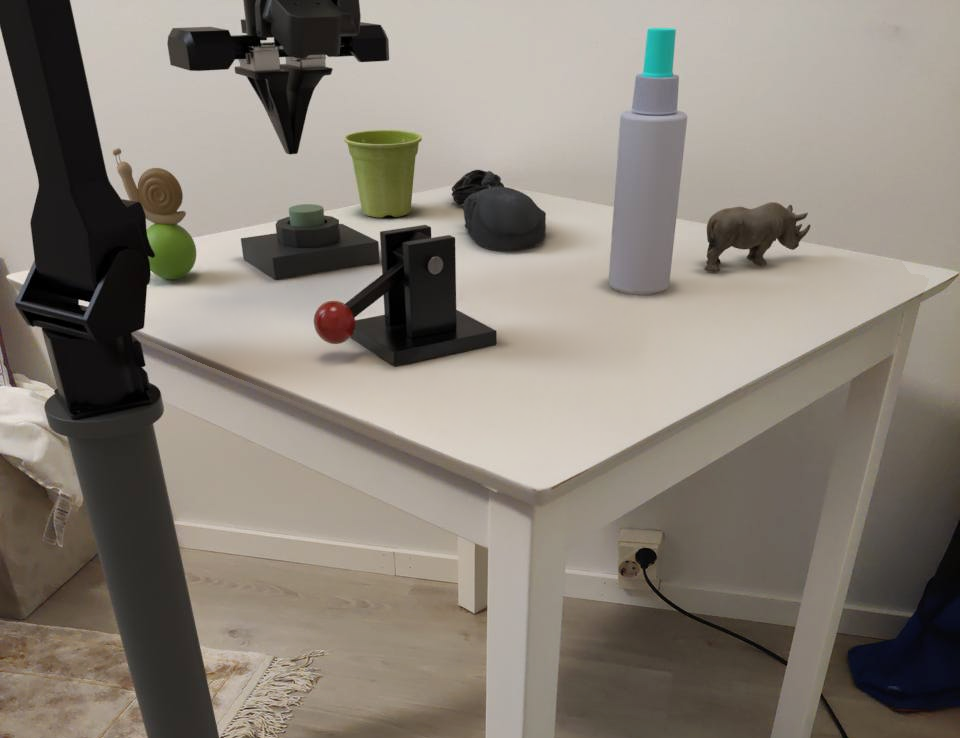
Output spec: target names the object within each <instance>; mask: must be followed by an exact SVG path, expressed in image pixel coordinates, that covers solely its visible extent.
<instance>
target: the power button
mask: <svg viewBox="0 0 960 738" xmlns="http://www.w3.org/2000/svg"><path fill="white" fill-rule="evenodd" d="M324 210H325V209H324V206H322V205H320V204H313V203H312V204H311V203H306V204H304V203H303V204H296V205H293V206H292V205H291V206H290V207H288V215H289V216H288V217H290V225H291V226H296V227H313V226H320V225H323V224H325V220H324V215H325V211H324Z"/></svg>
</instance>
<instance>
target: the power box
mask: <svg viewBox="0 0 960 738" xmlns="http://www.w3.org/2000/svg"><path fill="white" fill-rule="evenodd" d="M324 220H325V224H323V225H320V226H313V227H296V226H291V225H290V216H286V217H284V218H280V219H278V220H276V222H275V232H274V233H269V234H262V235H261V234H260V235H254V236H253V235H252V236H247V237H241V238H240V244H241V251H242V258H243V260H244V261H245V262H247V263H248V264H250V265H252V266H253V267H255V268H256V269H257V270H259V271H261V272H262V273H264V274H265V275H267V276H268V277H271V279H273V280H275V281H276V280H282V279H289V278H295V277H301V276H306V275H312V274H319V273H325V272H330V271H331V272H332V271H337V270H343V269H350V268H355V267H362V266H368V265H375V264H378V263H380V262H381V261H380V246H379V245H380V244H379V241H378V240H377V239H375V238H372V237H370V236H368V235H366V234H364V233H362V232H361V231H359V230H356V229H354V228H353V227H350V226H347V225H346V224H343V223H340V219H338V218H336V217H334V216H331V215H325V214H324Z"/></svg>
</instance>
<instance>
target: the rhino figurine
mask: <svg viewBox="0 0 960 738" xmlns="http://www.w3.org/2000/svg"><path fill="white" fill-rule="evenodd" d="M793 210H794V209H793V205H792V204H789V205H788V206H787V207H785V206H784V205H783V204H781V203H779V202H774V201H771V202H767V203H764V204H762V205H759V206H757V207H753V208H748V207H744V206H734V207H729V208H723V209H720V210H717V211H716V212H715V213H714V214H712V215H711V216H710V217H709V219H708V222H707V224H706V237H707V238H706V239H707V243H708V247H707V250H706V258H707V260H706V262H705V263H706V265H705V266H704V268H703V269H704V271H706V272H710V273H717V272H720V271H721V267H720V265H721V264H722V262H721V259H720V257H721V255H722V254H723V253H724V252H725V251H726V250H728V249H730V248H731V247H732V248H735V249H738V250H748V254H747V255H746V260H748V261H752V264H753V265H755V266H757V267H761V268H762V267H765V266H767V265H768V263H767V260H766V259H765V258H764V255H765V253H766V252H767V251H768V250H769V249H770V248H771V247H772V245H773V243H774V242H776V241H778V243H779V244H780V245H781V246H782V247H785V248H787V249H789V250H791V251H793V250H796V249H797V248H798V247H800V243H801V240H802V239H803V238H804V237H805V236H806V235H807V233H809V231H810V230H811V224H808V225H807V226H806V227H805V228H804V229H803V230H801V228H802V227H803V223H800V224H798V225H797V223H798V222H801V221H803V220H805V219H806V218H807V216H808V215H809V212H805V213H799V214H796V213H795V212H793Z"/></svg>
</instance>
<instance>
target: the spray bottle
mask: <svg viewBox="0 0 960 738" xmlns="http://www.w3.org/2000/svg"><path fill="white" fill-rule="evenodd" d="M676 32H677V29H676V28H672V27H649V28H647V30H646V41H645V51H644V58H643V59H644V60H643V70H642V73H639V74H636V75H635V81H634V88H633V95H632V96H633V97H632V105H631V109H627V110H625V111H622V112H621V114H620V117H619V129H618V142H617V143H618V145H617V158H616V170H615V185H614V198H613V210H612V225H611V238H610V239H611V241H610V254H609V268H608V284H609V286H610V287H612V289H613V290H616V291H618V292H620V293H624V294H631V295H653V294H658V293H661V292H663V291H665V290H666V289H667V288H668V287H669V285H670V281H671V273H672V264H673V263H672V262H673V255H674V254H673V253H674V244H675V234H676V228H677V227H676V225H677V219H678V218H677V217H678V208H679V199H680V190H681V181H682V180H681V179H682V171H683V170H682V169H683V161H684V154H685V153H684V152H685V145H686V136H687V135H686V134H687V133H686V132H687V124H688V115H687V114H686V112H684V111H681V110H678V100H679V85H680V75H678V74H674V58H675V44H676Z"/></svg>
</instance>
